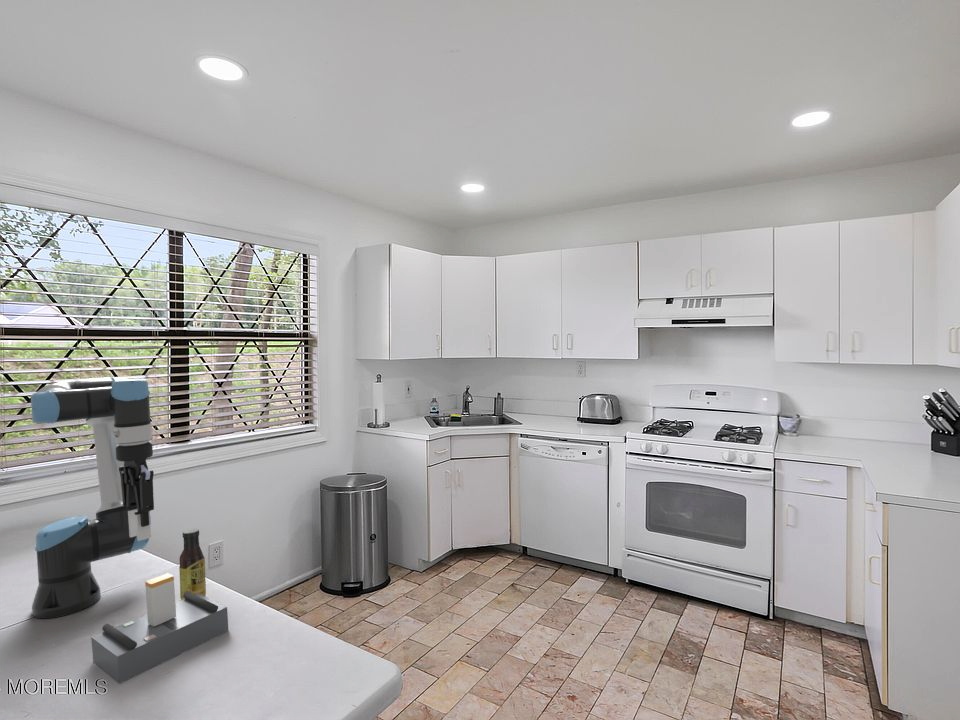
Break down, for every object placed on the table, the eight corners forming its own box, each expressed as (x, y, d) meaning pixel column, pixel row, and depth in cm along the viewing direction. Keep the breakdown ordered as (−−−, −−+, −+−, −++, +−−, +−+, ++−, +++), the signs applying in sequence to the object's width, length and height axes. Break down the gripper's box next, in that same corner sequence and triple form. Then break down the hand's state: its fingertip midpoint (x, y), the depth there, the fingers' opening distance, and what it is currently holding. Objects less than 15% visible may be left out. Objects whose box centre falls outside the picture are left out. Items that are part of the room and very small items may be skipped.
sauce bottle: (195, 608, 144) (190, 536, 143) (175, 606, 145) (170, 535, 144) (212, 596, 150) (207, 527, 149) (193, 595, 151) (188, 526, 150)
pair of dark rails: (102, 632, 122) (102, 625, 122) (189, 596, 138) (189, 590, 138) (128, 651, 114) (128, 643, 114) (218, 610, 130) (218, 604, 129)
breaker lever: (147, 623, 124) (145, 581, 124) (170, 613, 128) (167, 573, 128) (153, 626, 123) (150, 584, 122) (176, 616, 127) (173, 575, 126)
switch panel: (93, 662, 120) (91, 636, 120) (199, 615, 140) (198, 592, 139) (119, 684, 112) (117, 655, 112) (228, 630, 132) (227, 606, 131)
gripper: (102, 442, 131) (108, 535, 132) (131, 448, 121) (138, 549, 122) (135, 437, 137) (141, 526, 138) (166, 442, 127) (172, 538, 128)
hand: (140, 536), depth 130 cm, fingers open, 4 cm apart
